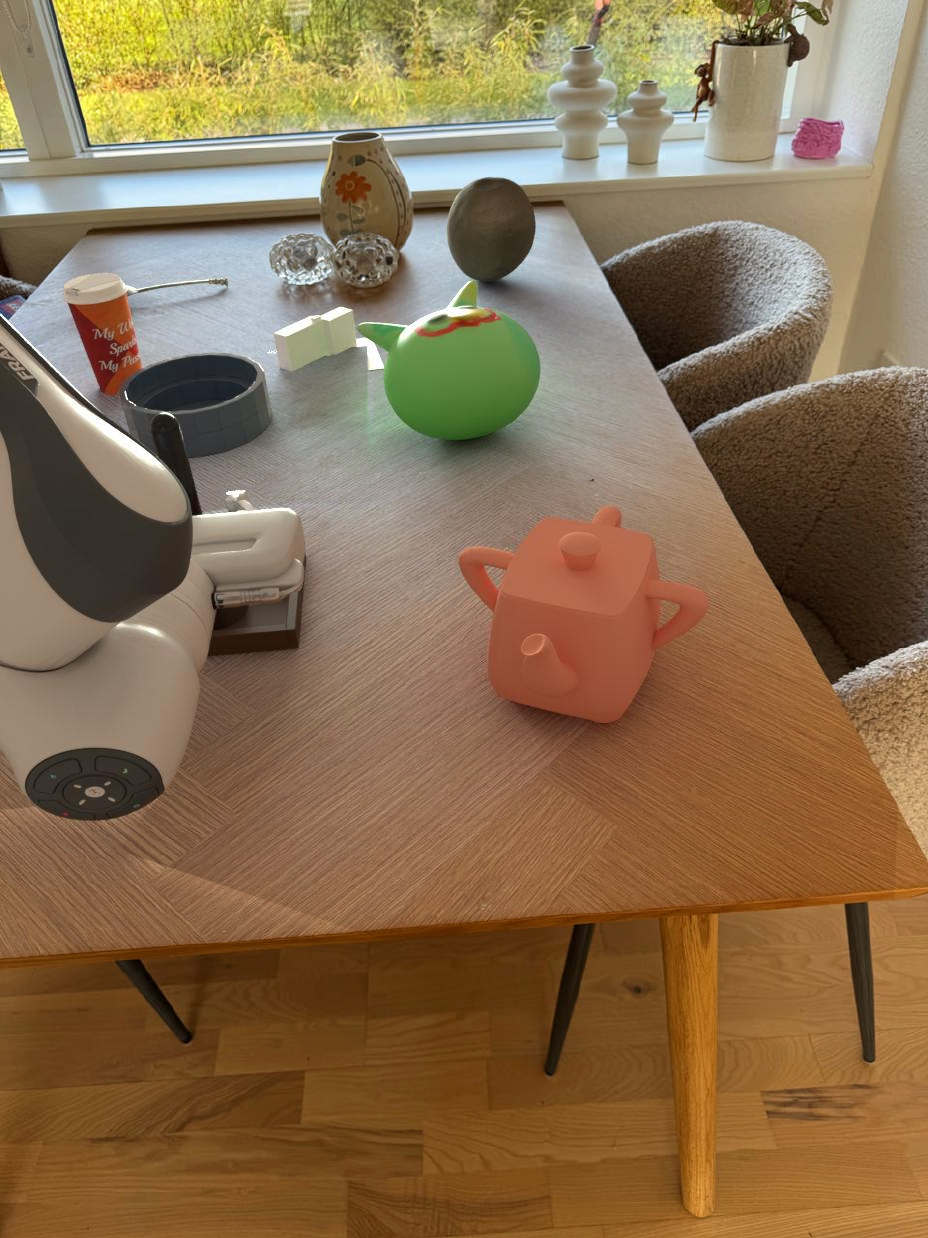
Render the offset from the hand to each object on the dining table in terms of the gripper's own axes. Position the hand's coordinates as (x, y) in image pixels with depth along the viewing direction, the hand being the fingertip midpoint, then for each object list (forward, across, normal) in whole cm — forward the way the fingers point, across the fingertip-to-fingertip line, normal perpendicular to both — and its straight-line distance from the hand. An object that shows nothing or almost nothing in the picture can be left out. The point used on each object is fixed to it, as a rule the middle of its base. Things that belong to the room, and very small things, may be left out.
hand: (178, 503), depth 73 cm
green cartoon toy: (+34, -25, +13) cm, 45 cm away
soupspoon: (+87, +19, +13) cm, 90 cm away
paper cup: (+53, +18, +13) cm, 57 cm away
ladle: (+2, 0, +13) cm, 13 cm away
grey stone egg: (+84, -34, +13) cm, 91 cm away
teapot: (-10, -30, +14) cm, 34 cm away
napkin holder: (+57, -8, +13) cm, 59 cm away
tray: (+4, 0, +13) cm, 14 cm away
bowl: (+40, +6, +13) cm, 42 cm away
